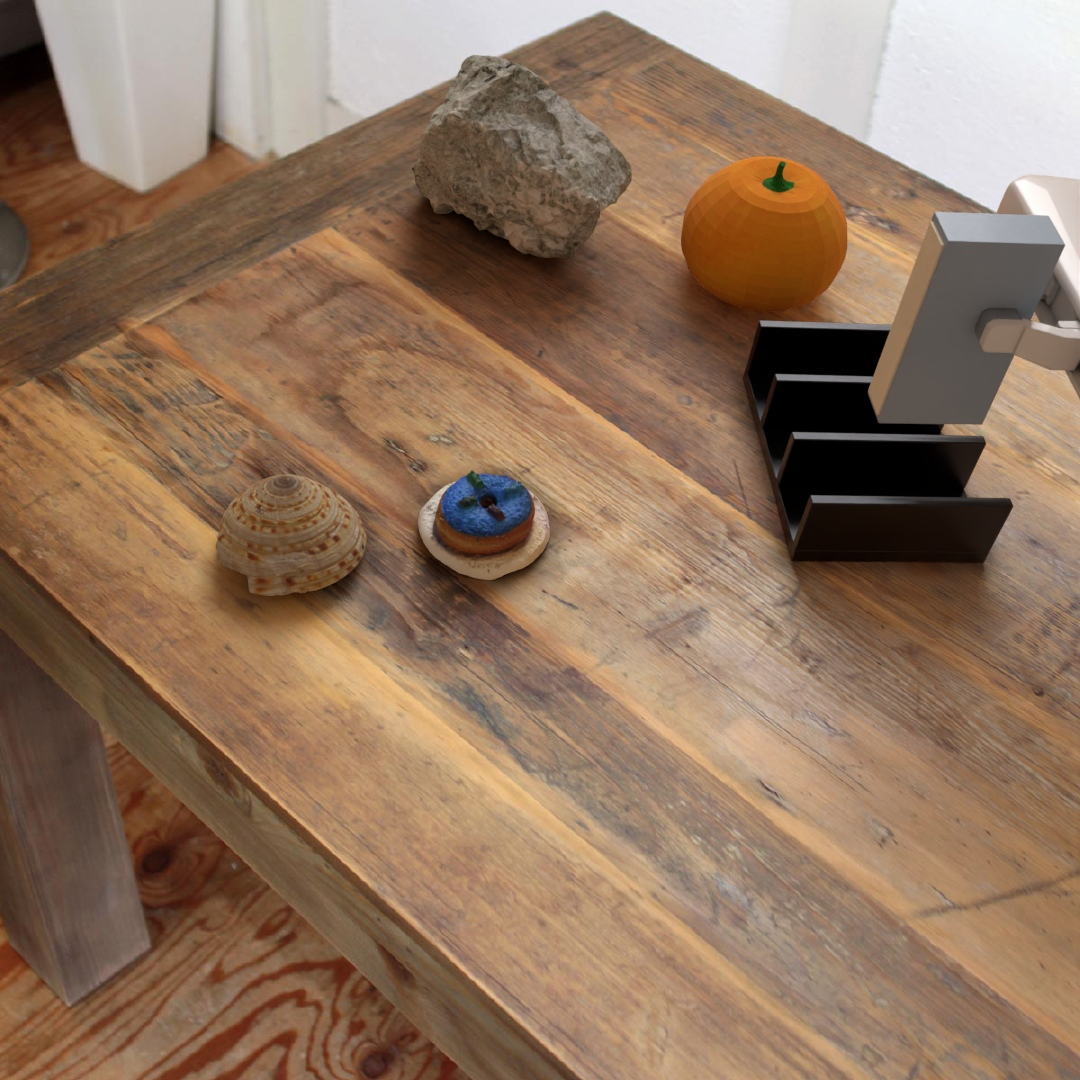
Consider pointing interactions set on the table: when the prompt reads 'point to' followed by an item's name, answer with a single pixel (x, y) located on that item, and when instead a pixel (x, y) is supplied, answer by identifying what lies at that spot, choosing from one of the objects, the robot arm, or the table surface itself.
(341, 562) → the seashell
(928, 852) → the table surface
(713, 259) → the fruit
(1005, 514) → the rack
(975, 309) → the grey rectangular block
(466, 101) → the stone
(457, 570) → the dessert
